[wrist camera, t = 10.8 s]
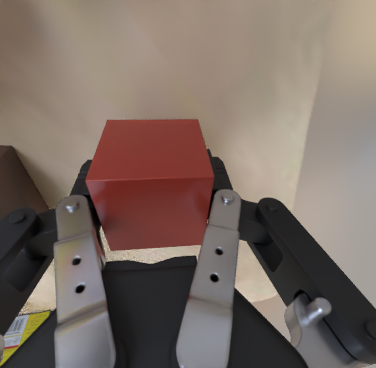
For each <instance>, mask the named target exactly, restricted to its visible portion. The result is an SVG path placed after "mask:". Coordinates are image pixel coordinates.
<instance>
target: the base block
mask: <svg viewBox="0 0 376 368" xmlns="http://www.w3.org/2000/svg"><path fill="white" fill-rule="evenodd" d="M20 208H32V209H34V210H35V211H36V213H37V214H38V213H42V212H45V211H49V209H48V207H47V205H46V203H45V202H44V200H43V198H42V197H41V195H40V193H39V192H38V190H37V188H36V187H35V185H34V183H33V181H32V180H31V178H30V176H29V175H28V173H27V171H26V170H25V168H24V166H23V165H22V163H21V161H20V159H19V158H18V156H17V154H16V153H15V151H14V149H13V148H12V146H0V221H1V220H2V219H3V217H5V216H6V215H7V214H8V213H10V212H12V211H14V210H16V209H20ZM20 253H21V251H20ZM20 253H19V254H18V255H17V256H16V258H15V259H14V260H13V262H14V261H15V260H16V259H17V257H18V256H19V255H20Z"/></svg>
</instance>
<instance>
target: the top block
mask: <svg viewBox="0 0 376 368" xmlns="http://www.w3.org/2000/svg"><path fill="white" fill-rule="evenodd" d="M85 182H86V185H87V187H88V190H89V193H90V196H91V198H92V201H93V204H94V207H95V209H96V212H97V215H98V217H99V220H100V223H101V226H102V228H103V231H104V234H105V237H106V239H107V242H108V245H109V248H110V250H111V251H116V250H131V249H146V248H161V247H176V246H191V245H202V241H203V237H204V233H205V229H206V225H207V219H208V213H209V207H210V201H211V195H212V188H213V182H214V173H213V170H212V166H211V163H210V160H209V156H208V153H207V149H206V146H205V142H204V139H203V135H202V132H201V129H200V125H199V122H198V120H197V119H179V120H107V122H106V125H105V127H104V130H103V133H102V136H101V138H100V141H99V144H98V147H97V149H96V152H95V155H94V158H93V160H92V163H91V166H90V169H89V172H88V174H87V177H86V180H85Z"/></svg>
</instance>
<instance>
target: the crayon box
mask: <svg viewBox="0 0 376 368" xmlns="http://www.w3.org/2000/svg"><path fill="white" fill-rule="evenodd" d="M51 313H52V311H46V312H41V313H35V314H29V315H23V316H17V317H16V318H15V320H14V321H13V323H12V325H11V326H10V328H9V329H8V331H7V332H6V334H5V336H4V337H3V338H4V340H5V347H4V351H3V359H2V361H1V363H0V366H1V365H2V364H3V363H4V362H5V361H6V360H7V359H8V358H9V357H10V356H11V355H12V354H13V353H14V352H15V351H16V349H17V348H18V347H19V346H20V345H21V344H22V343H23V342H24V341H25V340H26V339H27V338H28V337H29V336H30V335H31V334H32V333H33V332H34V331H35V330H36V329H37V328H38V326H39V325H40V324H41V323H42V322H43V321H44V320H45V319H46V318H47V317H48V316H49V315H50V314H51Z"/></svg>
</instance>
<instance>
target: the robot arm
mask: <svg viewBox="0 0 376 368" xmlns="http://www.w3.org/2000/svg"><path fill="white" fill-rule="evenodd" d="M207 153H208V156H209V160H210V163H211V166H212V170H213V173H214V182H213V188H212V195H211V201H210V207H209V213H208V223H207V225H206V229H205V233H204V237H203V241H202V245H201V249H200V253H199V257H198V261H197V259H196V256H181V257H173V258H170V259H167V260H164V261H160V262H157V263H154V264H147V263H142V262H136V261H130V260H124V261H110V262H107V260H106V256H105V251H104V247H103V243H102V238H101V234H100V232H99V231H100V227H101V223H100V220H99V217H98V215H97V212H96V209H95V207H94V204H93V201H92V198H91V196H90V193H89V190H88V187H87V185H86V182H85V180H86V177H87V174H88V172H89V169H90V166H91V163H92V160H87V161H86V162H85V163H84V164H83V165H82V167H81V169H80V173H79V174H78V178H77V179H76V182H75V184H74V186H73V189H72V191H71V194H70V196H68V197H66V198H64V199H62V200H61V201H60V202H59V203H58V204H57V206H56V208H55V209H52V210H49V211H45V212H42V213H38V214H37V213H36V211H35V210H34V209H32V208H20V209H16V210H14V211H12V212H10V213H8V214H7V215H6V216H5V217H3V219H2V220H1V221H0V363H1V361H2V359H3V351H4V347H5V340H4V338H3V337H4V336H5V334H6V332H7V331H8V329H9V328H10V326H11V325H12V323H13V321H14V320H15V318H16V317H17V315H18V314H19V312H20V311H21V309H22V307H23V306H24V304H25V303H26V301H27V300H28V298H29V296H30V295H31V293H32V292H33V290H34V289H35V287H36V285H37V284H38V282H39V281H40V279H41V278H42V276H43V274H44V273H45V271H46V270H47V268H48V267H49V265H50V263H51V262H52V260H53V259H54V268H55V287H56V307H57V308H56V309H55V310H54V311H53V312H52V313H51V314H50V315H49V316H48V317H47V318H46V319H45V320H44V321H43V322H42V323H41V324H40V325H39V326H38V328H37V329H36V330H35V331H34V332H33V333H32V334H31V335H30V336H29V337H28V338H27V339H26V340H25V341H24V342H23V343H22V344H21V345H20V346H19V347H18V348H17V349H16V351H15V352H14V353H13V354H12V355H11V356H10V357H9V358H8V359H7V360H6V361H5V362H4V363H3V364H2V365H1V366H0V368H362V367H365V366H369V365H372V364H375V363H376V309H375V308H374V307H373V305H372V304H371V303H370V302H369V301H368V300H367V299H366V297H365V296H364V295H363V294H362V293H361V292H360V291H359V290H358V289H357V287H356V286H355V285H354V284H353V283H352V282H351V280H350V279H349V278H348V277H347V276H346V275H345V274H344V272H343V271H342V270H341V269H340V268H339V267H338V266H337V265H336V263H335V262H334V261H333V260H332V259H331V258H330V257H329V255H328V254H327V253H326V252H325V251H324V250H323V249H322V247H321V246H320V245H319V244H318V243H317V242H316V241H315V239H314V238H313V237H312V236H311V235H310V234H309V233H308V232H307V230H306V229H305V228H304V227H303V226H302V225H301V224H300V222H299V221H298V220H297V219H296V218H295V217H294V216H293V214H292V213H291V212H290V211H289V210H288V209H287V208H286V207H285V205H284V204H283V203H282V202H280V201H279V200H277V199H274V198H263V199H261V200H260V201H259V202H258V203H254V202H249V201H245V200H243V199H241V197H240V195H239V194H238V193H236V192H235V191H233V188H232V185H231V183H230V180H229V177H228V174H227V171H226V169H225V166H224V163H223V161H222V160H221V159H219V158H218V157H212V155H211V152H210V149H207ZM239 239H240V240H244V241H247V243H248V245H249V246H250V248H251V250H252V251H253V253H254V255H255V256H256V258H257V259H258V261H259V263H260V264H261V266H262V268H263V269H264V271H265V272H266V274H267V276H268V277H269V279H270V281H271V282H272V284H273V285H274V287H275V289H276V290H277V292H278V294H279V295H280V297H281V298H282V300H283V302H284V303H285V305H286V306H287V309H286V310H285V314H284V317H285V322H286V325H287V327H288V329H289V332H290V336H291V343H290V342H289V341H288V340H287V339H286V338H285V337H284V336H283V335H282V334H281V333H280V332H279V331H278V330H277V329H276V328H275V327H274V326H273V325H272V324H271V323H270V322H269V321H268V320H267V319H266V318H265V317H263V315H262V314H261V313H260V312H259V311H257V309H256V308H255V307H254V306H253V305H252V304H251V303H250V302H249V301H248V300H247V299H246V298H245V297H244V296H243V295H242V294H241V293H240V292H239V291H238V290H237V289H236V288H235V287H234V285H235V276H236V266H237V256H238V246H239ZM20 251H21V253H20ZM19 253H20V255H19V256H18V257H17V259H16V260H15V261H14V262H13V260H14V259H15V258H16V256H17V255H18V254H19ZM12 262H13V264H12V265H11V266H10V268H9V269H8V270H7V268H8V267H9V265H10V264H11V263H12ZM6 270H7V272H6ZM5 272H6V273H5Z"/></svg>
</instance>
